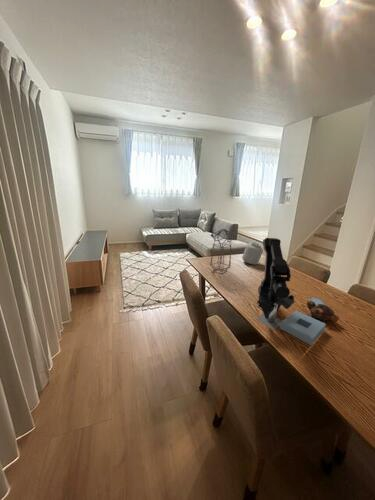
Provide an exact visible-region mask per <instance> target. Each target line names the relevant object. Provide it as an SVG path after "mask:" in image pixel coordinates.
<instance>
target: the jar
mask: <svg viewBox="0 0 375 500" xmlns="http://www.w3.org/2000/svg"><path fill="white" fill-rule="evenodd" d="M263 251H264V248H263V247H262V245H261V244H259V243H257V242H253V241H251V242H250V243H247V244H246V247H245V249H244V251H243V254H242V256H241V259H242V261H244V262H245V263H247V264H249V265H255V266H256V265H257V264H258V263H259V262H260V259H261V257H262V254H263ZM263 260H264V259H262V261H261V262H263Z"/></svg>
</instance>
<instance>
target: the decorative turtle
mask: <svg viewBox="0 0 375 500" xmlns="http://www.w3.org/2000/svg"><path fill="white" fill-rule="evenodd" d="M306 306H307V309H308V310H309V311H310V315H311V316H310V317H312V318H314V319H316V318H318V319H319V321H320V322H323V323H325V322H326V321H327V320H329V321H332V322H334V323H337V322H339V320H340V317H339V316H337V315H336V314H335V311H334V310H333V309H332V308H331V307H329V306H328V305H323V304H317V305H315V303H314V302H313V301H310V300H307V302H306Z"/></svg>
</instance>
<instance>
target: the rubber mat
mask: <svg viewBox="0 0 375 500" xmlns="http://www.w3.org/2000/svg"><path fill="white" fill-rule="evenodd" d="M256 321H259V322H260V323H262V324H264V325H265V326H267V327H269V328H271V329H272V330H277V329H278V328H280V325H281V322H282V321H283V320H282V319H280V318H279V317H276V318H275V322H274V323H269V322H268V321H267V320H266V318H265V316H264V314H263V315H261V316H259V317H258V318H256Z"/></svg>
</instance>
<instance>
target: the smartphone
mask: <svg viewBox="0 0 375 500" xmlns="http://www.w3.org/2000/svg"><path fill="white" fill-rule="evenodd" d="M308 301H313V302H314V303H315V305H317V304H323V305H326V303H325V301H323V300H322V299H321V298H317V297H315V298H314V297H308ZM326 306H327V305H326Z"/></svg>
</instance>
